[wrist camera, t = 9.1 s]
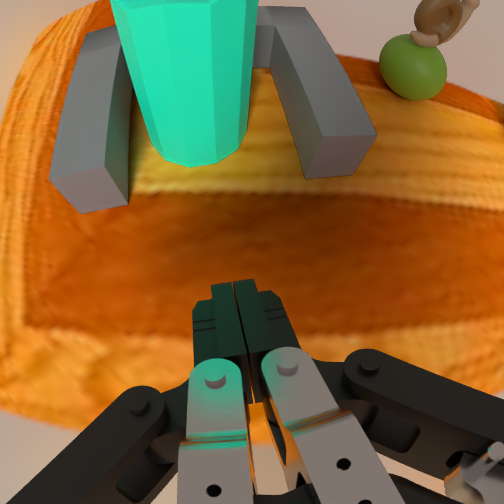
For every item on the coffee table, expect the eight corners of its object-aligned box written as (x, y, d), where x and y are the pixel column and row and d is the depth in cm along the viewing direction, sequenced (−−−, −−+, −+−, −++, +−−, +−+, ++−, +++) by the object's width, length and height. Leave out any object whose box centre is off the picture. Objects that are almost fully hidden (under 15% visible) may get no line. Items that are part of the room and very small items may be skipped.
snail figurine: (445, 106, 21) (513, 9, 10) (401, 120, 20) (477, -4, 8) (405, 64, 22) (455, -35, 11) (356, 72, 21) (405, -51, 10)
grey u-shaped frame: (296, 45, 22) (305, 7, 18) (352, 174, 18) (377, 135, 14) (99, 70, 20) (86, 33, 16) (80, 214, 16) (48, 179, 12)
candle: (140, 113, 18) (96, -49, 7) (223, 85, 20) (226, -75, 8) (167, 182, 17) (110, -17, 6) (263, 146, 18) (295, -46, 7)
